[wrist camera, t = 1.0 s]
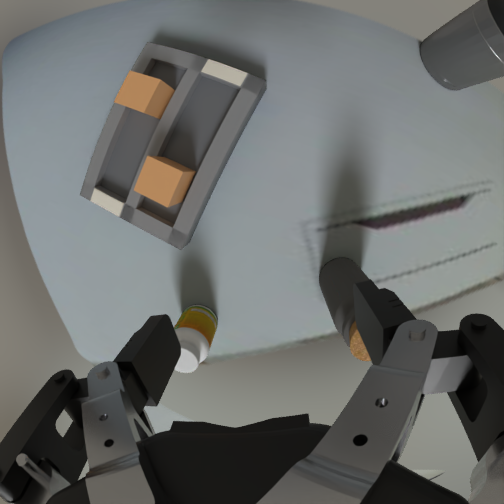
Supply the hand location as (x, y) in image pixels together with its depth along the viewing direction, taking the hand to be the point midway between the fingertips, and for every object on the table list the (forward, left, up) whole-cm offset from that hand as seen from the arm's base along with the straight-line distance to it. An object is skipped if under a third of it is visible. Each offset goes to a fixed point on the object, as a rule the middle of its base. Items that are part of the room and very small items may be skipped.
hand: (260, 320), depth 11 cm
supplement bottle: (+17, -2, -24) cm, 30 cm away
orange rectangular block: (0, -12, -22) cm, 25 cm away
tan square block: (-8, -19, -22) cm, 30 cm away
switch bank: (-4, -16, -24) cm, 29 cm away
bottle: (+2, +12, -24) cm, 27 cm away
